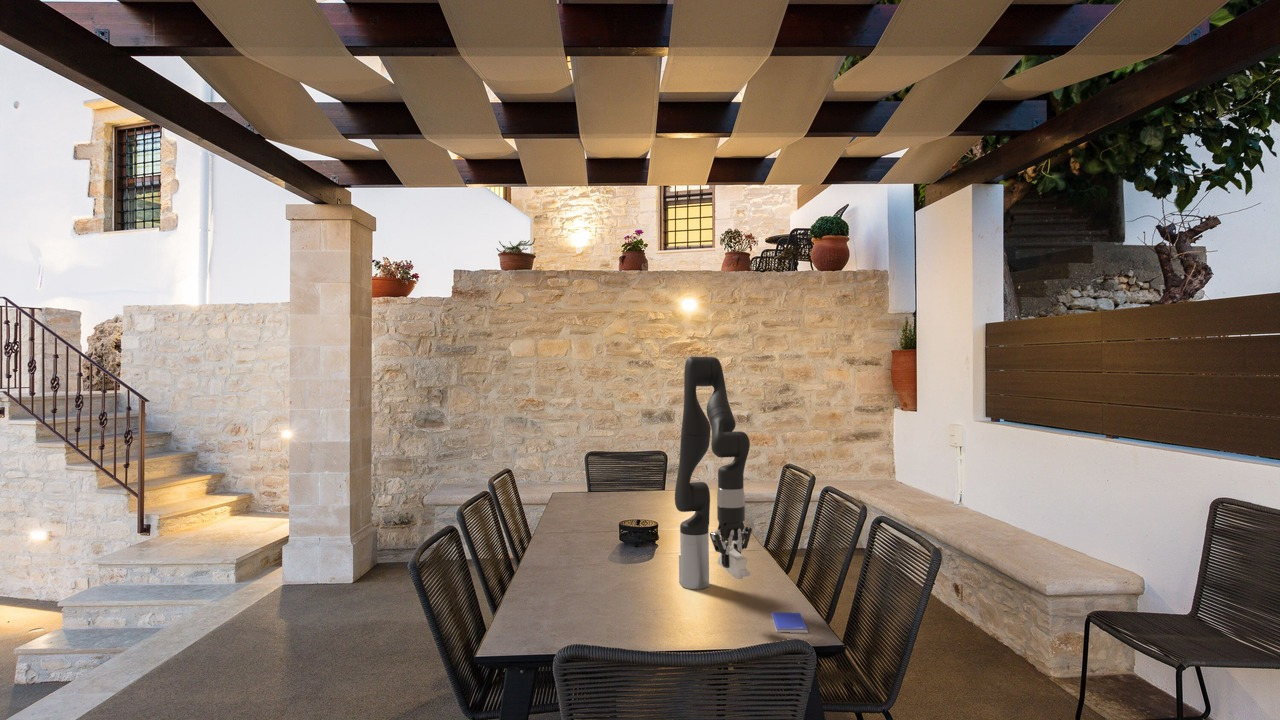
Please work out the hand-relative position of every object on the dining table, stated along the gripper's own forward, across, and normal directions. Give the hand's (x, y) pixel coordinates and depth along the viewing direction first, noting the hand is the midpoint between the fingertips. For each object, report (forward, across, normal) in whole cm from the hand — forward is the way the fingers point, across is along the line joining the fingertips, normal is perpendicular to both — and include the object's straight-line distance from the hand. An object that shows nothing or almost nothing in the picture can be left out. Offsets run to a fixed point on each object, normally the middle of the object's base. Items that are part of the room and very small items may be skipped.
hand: (731, 565), depth 192 cm
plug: (+1, 0, 0) cm, 1 cm away
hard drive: (+16, -12, +10) cm, 23 cm away
